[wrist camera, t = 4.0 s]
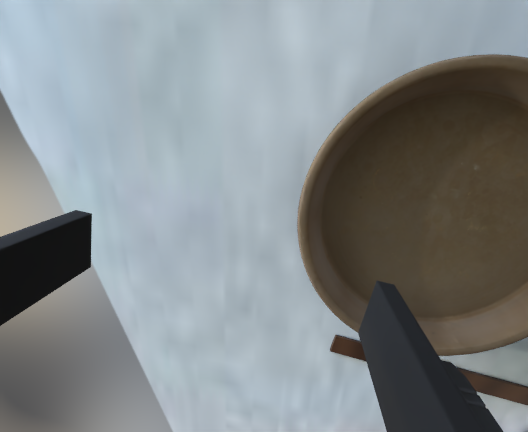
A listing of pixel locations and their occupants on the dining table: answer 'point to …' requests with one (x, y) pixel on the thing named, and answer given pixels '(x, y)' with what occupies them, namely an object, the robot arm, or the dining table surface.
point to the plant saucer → (428, 203)
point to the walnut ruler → (477, 380)
